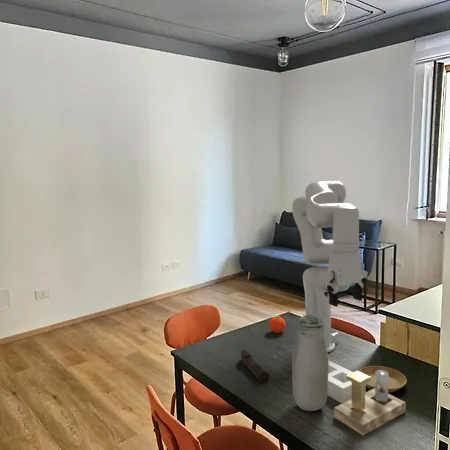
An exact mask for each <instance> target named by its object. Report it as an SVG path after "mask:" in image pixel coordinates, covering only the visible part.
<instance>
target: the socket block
mask: <svg viewBox="0 0 450 450" xmlns="http://www.w3.org/2000/svg"><path fill="white" fill-rule="evenodd" d="M406 403H407V402H406V401H404V400H401V399H400V398H397V397H396V396H394V395H392V394H390V393H388V403H386V404H384V405H382V404H380V403H378V402H376V401H375V388H374V389H369V390H368V391H366V393H365V409H364V410H362V411H360V410H358V409H356V408H355V407H353V406H352V399H351V400H349V401H347V402H345V403H343V404H342V403H339V405H337V406H334V409H333V412H334V413H333V418H334V419H336V420H337V421H339V422H341V423H342V424H345V426H347V427H349V428H351V429H353V431H355V432H357V433H358V434H360V435H362V436H365V435H366V434H368V433H370V432H373V430H376V429H377V428H380V427H381V426H383V425H385V424H387V423H388V422H390V421H392V420H394V419H395V418H398V417H399V416H401V415H403V414H404V413H406Z"/></svg>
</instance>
